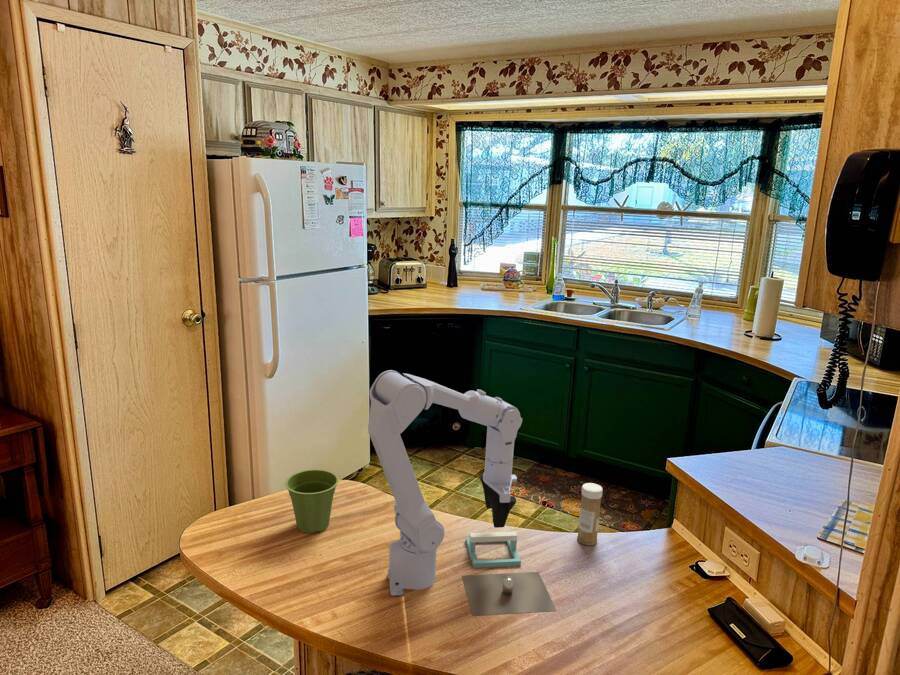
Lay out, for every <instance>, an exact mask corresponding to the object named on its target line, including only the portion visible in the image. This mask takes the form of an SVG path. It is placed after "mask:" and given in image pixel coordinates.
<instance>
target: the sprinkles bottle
mask: <svg viewBox="0 0 900 675" xmlns="http://www.w3.org/2000/svg"><path fill="white" fill-rule="evenodd" d="M603 491H604V490H603V486H601V485H600V484H597V483H593V482H585V483H583V485H582V486H581V500H580V501H581V502H580V506H579V507H580V509H579V518H578V532H577V537H576V539H577V542H579V543H580V544H582V545H585V546H594V545H596V544H597V542H598V531H599V525H600V524H599V522H600V512H601V502H602V497H603Z"/></svg>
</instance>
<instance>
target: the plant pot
mask: <svg viewBox="0 0 900 675" xmlns="http://www.w3.org/2000/svg"><path fill="white" fill-rule="evenodd" d="M339 481H340V479H339V476H338V475H337V474H336V473H334V472H332V471H330V470H325V469H321V468H320V469H318V468H312V469H304V470H301V471H298V472H294V473H293V474H291V475H290V476H289V477H287V479H286V480H285V481H284V486H285V488H286V489H287V490H288V495H289V497H290V499H291V504H292V508H293V509H292V510H293V514H294V518H295V522H296V527H297V529H298V530H299V531H301V532H303V533H307V534H314V533H316V532H323V531H325V529H327V528H328V527H329V525H330V522H331V520H330V519H331V513H332V508H333V500H334V495H335V492H336V487H337V486H338V484H339Z"/></svg>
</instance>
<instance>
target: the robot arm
mask: <svg viewBox="0 0 900 675" xmlns="http://www.w3.org/2000/svg"><path fill="white" fill-rule="evenodd" d="M368 393H369V394H368V395H369V398H370V407H369V417H368V425H367V430H368V436H369V437H370V440H371V442H372V445H373V447H374V450H375V453H376V456H377V458H378V460H379V464H380V465H381V467H382V471H383V473H384V475H385V478H386V481H387V483H388V485H389V488H390V490H391V493H392V495H393V496H392V497H393V499H394V500H395V503H394V504H393V509H394V512H395V513H394V514H395V515H394V523H395V526H396V528H397V529H398V530H399V531H400V532H399V537H400V538H399V539H398V540H395V541H390V542H389V550H388V551H389V554H388V555H389V557H388V569H387V579H389V580H388V581H389V582H388V583H389V592H390V595H391V596H392V597H393V596H394V597H395V596H405V592H404V589H407V590H414V591H415V590H416V591H419V590H426V589H428V588H430V587H432V586H433V584H434V583H435V581H436V575H437V574H436V570H437V553H438V552H437V550H438V549H439V548H438V547H439V546H440V545H441V543H442V542H443V540H444V538H445V527H444V526H443V524H442V523H441V522H439V521H438V520H437V519H436V517H435V514H434V512H433V511H432V509H431V508H430V507H429V505H428V504H427V502H426V500H425V498H424V496H423V493H422V490H421V488H420V484H419V482H418V480H417V477H416V475H415V471H414V468H413V466H412V463H411V460H410V457H409V455H408V453H407V450H406V447H405V444H404V442H403V439H402V436H401V434H402V433H403V432H404V431H405V430H406V429H407V428H408V427H409V425H411V423H412V422H413V421H414V420H415V419H416V418H417V417H418V416H419V414H421V412H422V411H423V410H425V411H426V410H429V409H430V407H431V406H432V405H433V404H436V405H441V406H443V407H446V408H450V409H453V410H456V411H458V413H459V416H461V418H462V419H465V420H467V421H470V422H473V423H477V424H479V425H482V426H486V428H487V429H486V443H485V456H484V457H485V458H484V459H485V460H484V472H483V473H482V474H479V476H478V477H479V480H480V482H481V485H482V489H483V493H484V494H483V495H484V503H485V507H486V509H488V510H489V509H491V516H492V524H493V528H497V529H498V528H504V527H505V526H506V522H507V520H508V516H509V514H510V512H511V510H512V509H513V507H514V506H515V505H516V503H517V498H516V496H514V495H512V494H511V488H512V484H513V483H515V482H517V481H518V477H517V475H516V474H513V463H514V462H513V461H514V450H515V441H516V438H517V436H518V435H517V434H518V430H519V429H520V428H521V425H522V423H523V418H522V417H521V413H520V411H519V409H518V408H517V407H516V406H514V405H512V404H510V403H508V402H507V401H505V400H503V399H502V398H501V397H498V396H495V397H492V396H489V395H486V394H487V392H485V391H484V390H482V389H478V388H477V389H476V391H475V390H468V391H466V392H464V393H462V392H459V391H457V390H454V389H451V388H448V387H447V386H444V385H441V384H439V383H437V382H435V381H432V380H429V379H426V378H423V377H420V376H416V375H413V374H410V373H404V372H403V373H402V374H401V373H400V372H398V371H397V370H393V369H390V370H389V369H388V370H385V371H383V372H381V373H380V374H379V375H378V376H377V377H376V378H375V380H374V382H373V383H372V384H371V387H370V389H369V390H368Z"/></svg>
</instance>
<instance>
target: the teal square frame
mask: <svg viewBox="0 0 900 675" xmlns="http://www.w3.org/2000/svg"><path fill="white" fill-rule="evenodd" d="M517 541H518V534H517V531H515V530H514V531H496V532H495V531H494V532H493V531H492V532H491V531H490V532H470V533H469V536H465V544H466V547H467V550H468V553H469V557H470V561H471V564H472V567H473V569H478V568H495V567H496V568H498V567H499V568H500V567H501V568H502V567H518V566H520V567H521V564H522V560H521V557H520V555H519V553H518V551H517V544H518V542H517ZM483 543H484V544H485V543H505V544H507V547H508V549H509V552H510V554H511V557H512V558H501V559H500V558H499V559H496V558H495V559H478V557H477V554H476V544H483Z"/></svg>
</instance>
